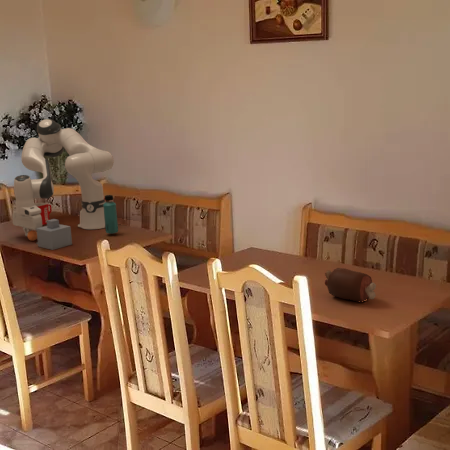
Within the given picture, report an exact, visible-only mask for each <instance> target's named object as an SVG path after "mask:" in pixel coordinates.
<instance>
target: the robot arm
mask: <svg viewBox="0 0 450 450" xmlns="http://www.w3.org/2000/svg"><path fill="white" fill-rule="evenodd" d="M36 131H37V134H38V138H37V137H30V138H28V139H27V140H26V141H25V143H24V145H23V148H22V152H21V159H20V160H21V163H22V166H23V167H25V168H26V169H27V170H30V171H32V172H37V173H41V174H42V178H38V179H37V178H36V179H34V178H33V179H31V176H30V175H27V174H21V175H20V174H19V175H17V176H16V177H15V178H14V180H13V194H14V197H15V202H14V203H15V207H14V208H13V211H12V216H11V217H12V225H13V226H15V227H16V226H17V227H20V228H22V230H23V232H24V236H25V237H27V234H28V232H30V231H37V230H36V228H40V227H43V225H42V218H41V215H40V213H41V209H40V208H38V207H37V206H36V205H34V204H35V200H36V199H44V200H48V199H50V198H52V196H53V195H54V192H55V186H54V183H53V179H52V172H51V167H50V162H49V160H48V159H47V158H45V157H48V158H57V157H59V156H61V155H62V154H63V153H64V151H65V152H67V154H68V155H69V156H67V157H66V158H65V161H64V167H65V170H66V172H67V173H68V174H69V175H71V176H72V177H73V178H74V179H76V181H77V182H78V184H79V186H80V187H79V188H80V193H81V208H82V209H81V210H80V211H79V224H77V227H78V228H81V229H84V230H98V229H99V230H100V229H105V218H104V207H103V204H104V203H105V202H107V200H105V196H104V186H103V184H102V182H100V181H98V180H96V179H94V178H93V176H92V175H93V174H98V173H103V172H106V171H109V170H111V169H112V168H113V166H114V162H115V160H114V156H113V155H112V153H111V152H110V151H107V150H104V149H103V150H102V149H100V148H97V147H95V146H93V145H91V144H89V143H88V142H87V141H86V140H85V139H84V138H83V136H82V135H81V134H80V133H79V132H78V131H76V130H75V129H73V128H71V127H66V128H62V125H61V124H60V123H57V122H56V121H55V120H54V119H50V118H42V119H41V120H39V121H38V122H37V124H36Z"/></svg>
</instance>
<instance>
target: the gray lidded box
mask: <svg viewBox="0 0 450 450" xmlns="http://www.w3.org/2000/svg"><path fill="white" fill-rule="evenodd" d="M59 220H60V219H56V218H51V219H50V220H47V224H46V225H44V226H42V227H40V228H36V230H35V231H36V232H37V239H36V240H37V242H38V244H37V247H38V248H44V249H48V250H51V251H52V250H53V251H54V250H58V249H61V248H65V247H67V246H71V245H73V240H72V227H71V226H70V225H66V224H65V225H64V224H60V221H59Z"/></svg>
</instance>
